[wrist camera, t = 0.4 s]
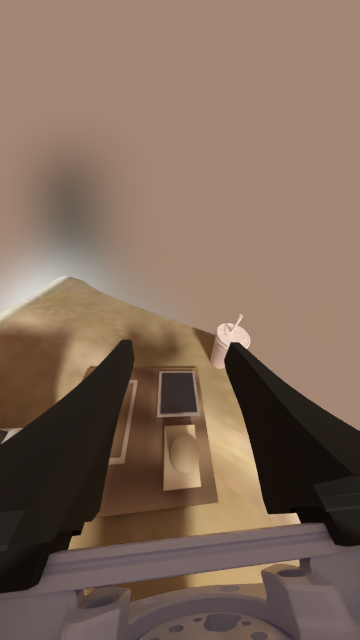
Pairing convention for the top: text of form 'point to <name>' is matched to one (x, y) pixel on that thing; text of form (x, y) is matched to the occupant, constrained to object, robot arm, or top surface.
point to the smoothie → (227, 341)
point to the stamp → (181, 458)
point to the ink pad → (177, 395)
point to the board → (150, 452)
